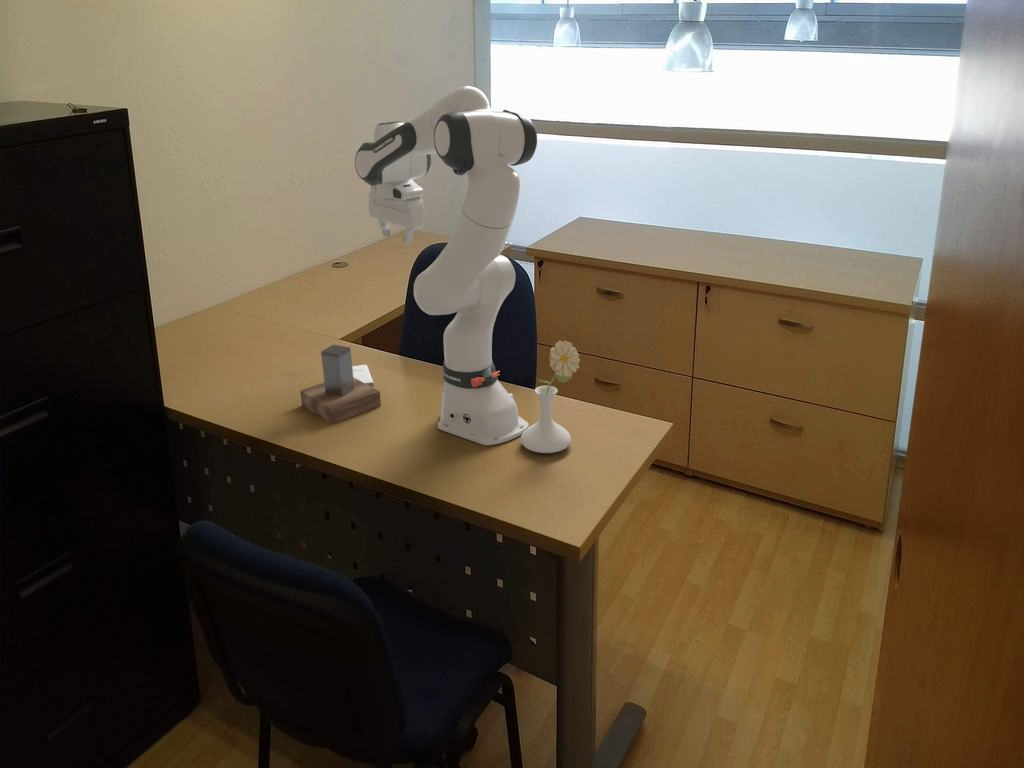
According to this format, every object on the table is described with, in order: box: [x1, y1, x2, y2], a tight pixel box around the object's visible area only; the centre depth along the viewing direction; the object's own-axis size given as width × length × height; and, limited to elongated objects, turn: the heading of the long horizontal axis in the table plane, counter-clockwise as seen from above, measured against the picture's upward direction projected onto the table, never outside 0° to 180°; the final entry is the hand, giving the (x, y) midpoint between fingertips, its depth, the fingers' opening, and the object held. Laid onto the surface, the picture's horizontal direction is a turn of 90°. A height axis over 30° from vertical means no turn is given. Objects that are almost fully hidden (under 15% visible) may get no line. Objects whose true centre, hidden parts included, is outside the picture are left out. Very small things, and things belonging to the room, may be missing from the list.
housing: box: [320, 344, 354, 397], centre depth 209 cm, size 5×5×11 cm
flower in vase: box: [520, 340, 581, 454], centre depth 189 cm, size 13×11×25 cm
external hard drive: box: [352, 364, 375, 387], centre depth 228 cm, size 2×8×12 cm
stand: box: [299, 377, 382, 424], centre depth 213 cm, size 14×14×4 cm
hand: (397, 239), depth 226 cm, fingers open, 8 cm apart
